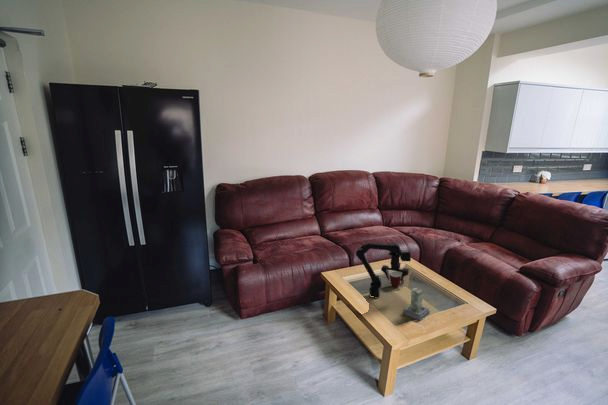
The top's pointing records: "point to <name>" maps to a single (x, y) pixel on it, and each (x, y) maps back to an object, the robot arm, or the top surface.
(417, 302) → the pillar
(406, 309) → the footing
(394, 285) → the mug
